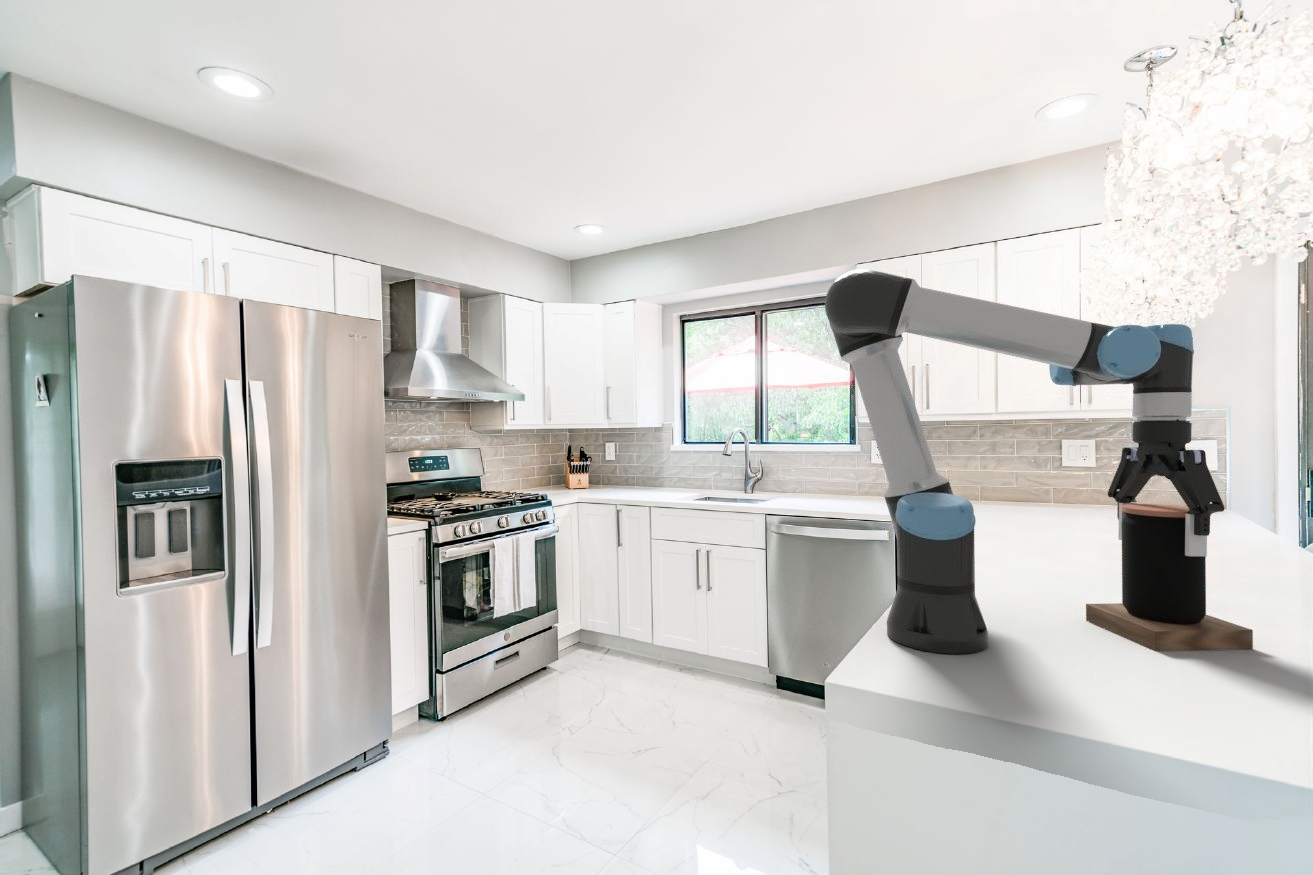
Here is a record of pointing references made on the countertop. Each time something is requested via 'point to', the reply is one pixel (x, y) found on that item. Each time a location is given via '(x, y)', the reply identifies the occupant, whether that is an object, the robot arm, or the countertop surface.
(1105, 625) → the walnut riser
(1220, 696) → the countertop surface
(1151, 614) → the coffee jar
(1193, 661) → the countertop surface
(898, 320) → the robot arm
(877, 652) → the countertop surface
